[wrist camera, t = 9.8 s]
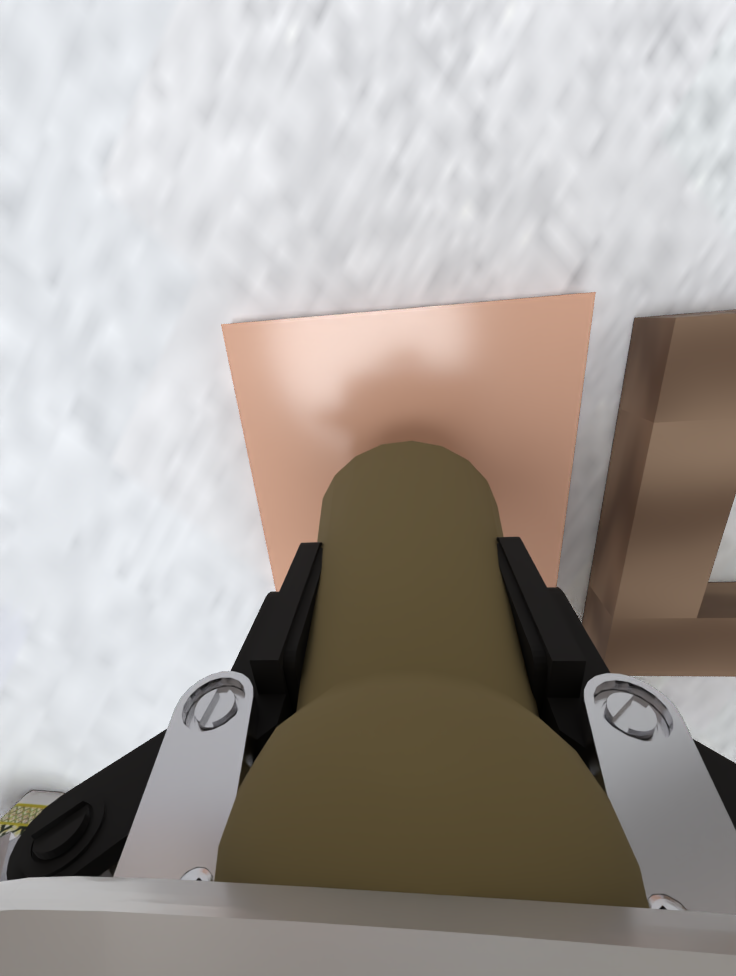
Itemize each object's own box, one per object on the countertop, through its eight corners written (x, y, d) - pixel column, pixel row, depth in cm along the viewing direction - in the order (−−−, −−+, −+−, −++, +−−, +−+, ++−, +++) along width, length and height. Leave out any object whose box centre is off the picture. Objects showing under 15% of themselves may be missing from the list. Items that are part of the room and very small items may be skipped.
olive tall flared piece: (436, 402, 12) (659, 942, 2) (531, 548, 13) (919, 1245, 3) (283, 503, 13) (-62, 1062, 3) (384, 621, 15) (354, 1224, 5)
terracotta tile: (547, 593, 20) (553, 605, 20) (284, 596, 22) (279, 608, 21) (583, 293, 15) (595, 292, 14) (231, 323, 16) (221, 324, 16)
